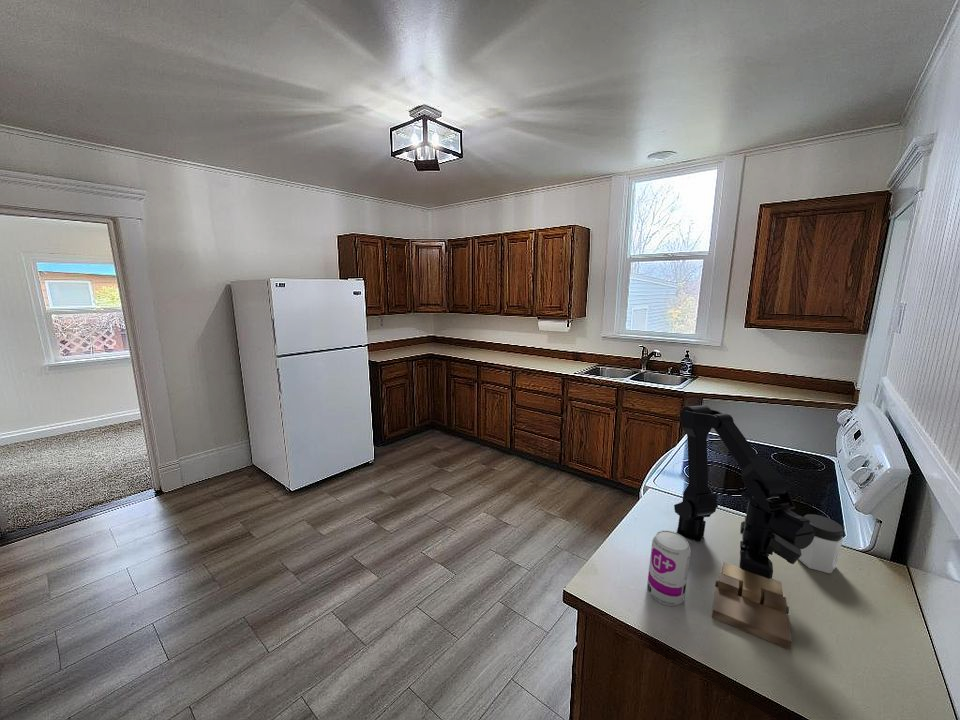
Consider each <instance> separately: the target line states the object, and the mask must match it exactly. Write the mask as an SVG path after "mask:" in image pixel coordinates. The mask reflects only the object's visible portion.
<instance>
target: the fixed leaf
mask: <svg viewBox="0 0 960 720" xmlns="http://www.w3.org/2000/svg"><path fill="white" fill-rule="evenodd" d="M718 577H719V578H718V579H715V584H714V586H715V590H714V596H713V606H712V615H711V617H712V618H714V619H716V620H717V621H720V622H723V623H726V624H728V625H729V626H733V627H734V628H737V629H740V630H741V631H745V632H746V633H749V634H752V635H754V636H757V637H759V638H760V639H764V640H766V641H767V642H768V641H769V643H773V644H775V645H778V646H780V647H783V648H785V649H787V650H791V645H792V637H791V636H792V635H791V628H790V627H791V625H790V618H789V612H790V606H788V604H787V597H786V596H784V595H783V596H780V595H778V594H775V593H772V592H770V591H767V590H764V595H763V600H762V603H760V604H758V603H756V602H753V601H751V600H748V599H745V598H743V597H741V595H739V594H738V591H739V580H737V579H734V578H731V577H728V576H726V575H723V574H721V573H719V576H718Z"/></svg>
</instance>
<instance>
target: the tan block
mask: <svg viewBox="0 0 960 720" xmlns="http://www.w3.org/2000/svg"><path fill="white" fill-rule="evenodd" d="M720 574H723V575H726V576H728V577H731V578H734V579H737V580H739V591H738V596H740V597H743V598H745V599H748V600H751V601H753V602H756V603H758V604H762V600H763V595H764V590H767V591H770V592H772V593H775V594H778V595H780V596H783V597H784V592H783V590H784V589H783V584H782V581H780V580H777V579H774V578H771V579H768V578H765V577H762V576H759V575H757V574H754V573H751V572H748V571H745V570H742V569H741V568H740V566H739V567H738V565H737V566H736V565H733V564H731V563H728V562H725V561H723V562H722V567H721V573H720Z"/></svg>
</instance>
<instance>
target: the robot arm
mask: <svg viewBox="0 0 960 720" xmlns="http://www.w3.org/2000/svg"><path fill="white" fill-rule="evenodd" d="M679 419H680V425H681V428H682V430H683V431H684V433H685V434H686V436H687V465H688V466H687V468H688V484H687V487H686V488H685V489H684V492H683V494H682V501H681V502H678V503H675V504H673V506H674V513H675V514H677V515H678V516H679V519H678V525H677V529H676V532H675V533H677V534H680V535H681V536H683V537H684V538H685V539H686V538H687V539H689V540H692V541H696V542H700V543H701V542H702V539H703V538H704V536H705V531H706V524H707V523H706V520H705V518H710V517H711V515H713V514H715V513H716V510H717V508H719V506H718V495H717V493H716V492H713V491H712V490H711V488H710V486H709V473H708V472H709V471H708V470H709V467H708V463H709V462H708V440H707V439H708V435H709V433H710V432H711V430H712V429H713V430H714V431H715V432H716V434H717V436H718V437H719V438H720V440H721V441H722V443H723V444H724V445H725V447H726V449H727V450H728V451H729V453H730V455H731V456H732V458H733V459H734V460H735V462H736V464H738V466H739V468H740V472H741V480H742V482H743V483H744V486H745V488H746V490H747V491H745V492H741V493H740V496H741V497H742V498H744V499H745V500H747V501H748V503H747V509H746V515H745V517H744V521H742V522H740V523H741V524H740V528H739V530H740V531H739V532H740V534H741V536H742V540H740V543H739V547H740V549H739V567H740V568H741V569H742V570H745V571H748V572H751V573H754V574H757V575H759V576H762V577H765V578H768V579H773V575H774V567H773V566H774V565H773V564H774V563H773V561H771V559H770V558H769V556H770V555H771V556H773V553H774V554H775V555H776V556H778V557H780V558H781V559H784V560H785V561H786V562H788V563H789V564H790V565H794V564H795V563H796V562H797V561H798V560H799V557H800V556H801V555H802V554H801V549H804V548H806V547H808V546H809V545H810V544H811V543H812V541H813V539H814V536H815V533H814V530H813V528H812V527H811V526H810V520H808V519H806V518H805V517H804V516H801V515H799V514H797V512H795V511H792V510H793V509H796V505H795V503H794V501H793V500H794V499H793V498H792V496H791V493H790V491H789V489H788V484H787V482H786V480H785V478H784V477H783V476H782V475H781V474H780V473H779V472H778V471H777V470H776V469H775V468H774V466H773V467H772V466H771V465H770V464H768V463H767V462H765V461H763V460H762V458H760V457H759V455H758V454H757V453H756V451H755V450H754V448H753V447H752V445H751V443H750V442H749V441H748V440H747V439H746V437H745V436H744V435H743V433H742V431H740V429H739V428H738V427H737V425H736V423H735V422H734V421H735V420H734V418H733V416H732V415H731V414H728V413H723V412H721V411H720V410H715V409H712V408H710V407H709V406H708V405H704V404H703V405H701V404H700V405H691V406H684V407H683V408H682V409H680V411H679ZM774 498H775V499H776V498H779V499H780V500H775V501H773V500H770V499H774ZM791 509H792V510H791Z"/></svg>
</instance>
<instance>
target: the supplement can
mask: <svg viewBox="0 0 960 720" xmlns="http://www.w3.org/2000/svg"><path fill="white" fill-rule="evenodd" d="M691 552H692V550H691V548H690V544H689V542H688V540H687V539H686V537H683V536H681V535H680V534H677V533H676V532H675V531H672V530H660V531H657V532H656V534H655V536H653V538H652V542H651V551H650V558H649V566H648V575H647V584H646V588H647V591H648V593H649V594H650V596H652V598H654V599H655V601H657V602H659V603H660V604H661V605H664V606H665V605H666V606H670V607H673V606H674V607H675V606H677V605H678V606H679V605H681V604H682V603H683V602H684V601H685V594H686V588H687V580H688V574H689V566H690V558H691Z"/></svg>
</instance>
